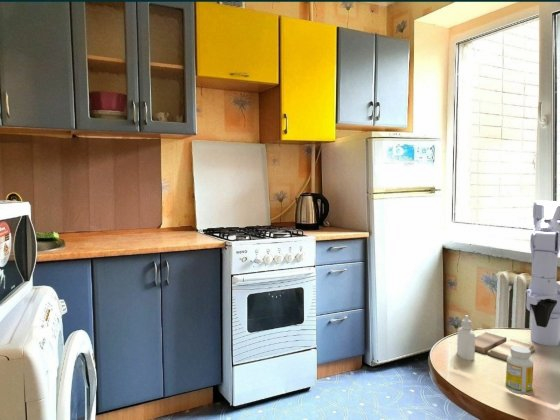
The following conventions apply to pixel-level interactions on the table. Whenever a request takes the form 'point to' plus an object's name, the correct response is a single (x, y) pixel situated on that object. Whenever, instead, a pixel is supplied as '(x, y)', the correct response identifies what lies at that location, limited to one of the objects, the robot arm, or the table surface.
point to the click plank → (508, 349)
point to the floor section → (488, 342)
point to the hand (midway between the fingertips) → (541, 326)
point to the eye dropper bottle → (466, 340)
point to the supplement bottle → (519, 370)
